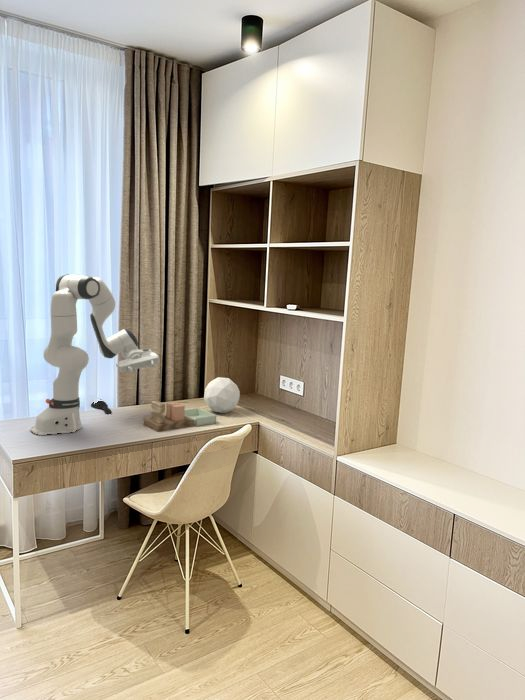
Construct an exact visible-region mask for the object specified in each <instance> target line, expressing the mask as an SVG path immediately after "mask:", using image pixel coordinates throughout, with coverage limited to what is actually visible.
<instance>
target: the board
mask: <svg viewBox="0 0 525 700" xmlns="http://www.w3.org/2000/svg"><path fill="white" fill-rule="evenodd" d="M142 422H143V423H142V424H143V425H144V426H146V427H147V428H150V429H151V430H153V431H155V432H165V431H168V430H169V431H170V430H176V429H182V428H187V427H195V426H194V420H193V419H191V418H189V417H186V416H184V420H179V421H174V420H172V419H170V418H168V417H166V414H165V422H164V423H157V422H155V421H153V420H151V417H145V418H144V417H143V421H142Z"/></svg>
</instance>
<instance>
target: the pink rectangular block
mask: <svg viewBox="0 0 525 700" xmlns="http://www.w3.org/2000/svg"><path fill="white" fill-rule="evenodd" d="M177 404H180V403H179V402H176V401H173V402H172V401H171V402H166V403H165V415H166V417H168V418H170V419H171V405H177Z"/></svg>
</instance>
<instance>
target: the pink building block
mask: <svg viewBox="0 0 525 700" xmlns="http://www.w3.org/2000/svg"><path fill="white" fill-rule="evenodd" d="M185 406H186V405H184V404H181V403H179V404H177V405H171V419H172V420H174V421H179V420H184V411H185V410H186V409H185V408H186V407H185Z"/></svg>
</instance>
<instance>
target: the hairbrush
mask: <svg viewBox="0 0 525 700" xmlns="http://www.w3.org/2000/svg"><path fill="white" fill-rule="evenodd" d="M99 399H100V400H102V398H99ZM90 407H91V408H93V409H96V410H104V414H105V415H108V414H111V413H112V414H113V411H112V410H111V408H110V407H109V405H108V404H107V402H105V401H104V400H103V401H98V402H97V403H95V404H94V402H93V403H92V404H91V403H90ZM112 414H111V415H112Z"/></svg>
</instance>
